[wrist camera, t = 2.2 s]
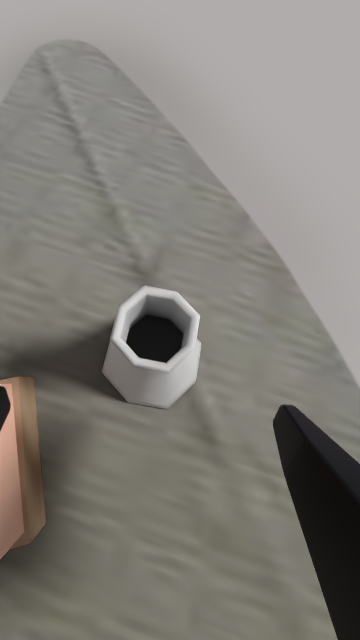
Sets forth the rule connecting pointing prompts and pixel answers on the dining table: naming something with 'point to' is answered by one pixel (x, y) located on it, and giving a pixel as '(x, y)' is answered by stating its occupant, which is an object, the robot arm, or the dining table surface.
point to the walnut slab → (28, 458)
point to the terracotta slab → (9, 483)
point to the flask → (153, 348)
